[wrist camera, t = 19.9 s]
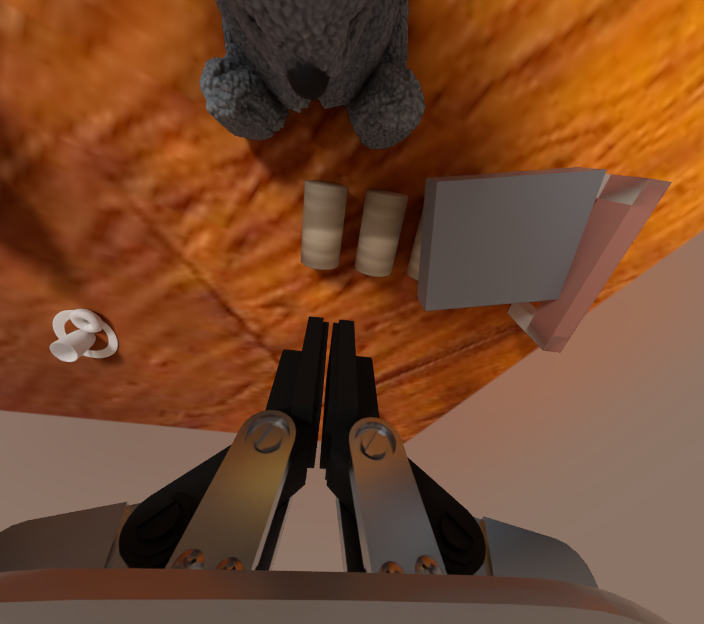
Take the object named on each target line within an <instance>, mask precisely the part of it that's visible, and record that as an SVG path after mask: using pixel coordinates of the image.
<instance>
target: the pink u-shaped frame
mask: <svg viewBox="0 0 704 624" xmlns="http://www.w3.org/2000/svg"><path fill="white" fill-rule="evenodd" d="M671 183H672V182H667V181H661V180H655V179H649V178H640V177H630V176H620V175H610V174H605V176H604V178H603V181H602V184H601V186H600V189H599V192H598V194H597V197H596V198H598V199H597V201H596V203H595V205H594V207H593V208H592V211H591V213H590V216H589V219H588V221H587V224H586V227H585V229H584V232H583V235H582V237H581V240H580V243H579V245H578V248H577V251H576V254H575V256H574V259H573V262H572V264H571V267H570V270H569V272H568V275H567V278H566V280H565V283H564V286H563V288H562V291H561V294H560V297H559V299H556V300H545V301H542V302H541V303H540V305H539V307H538V309H536V308H535V307H534V306H533V305H532V304H530V303H529V302H522V303H512V304H511V306H510V308H509V310H508V312H507V313H508V314H509V315H510V317H511V318H512V319H513V320H514V321H515V322H516V323H517V324H518V325H519V326H520V327H521V328H522V329H523V330H524V331H525V332H526V333H527V334H528V335H529V336H530V337H531V338H532V340H533V341H534V342H535V343H536V344H537V345H538V346H539V347H540V348H541V349H542V350H543V351H551V352H561V351H562V349H563V348H564V346H565V345H566V343H567V342H568V340H569V338H570V337H571V335H572V334H573V332H574V331H575V329H576V328H577V326H578V325H579V323H580V322H581V320H582V319H583V317H584V316H585V314H586V313H587V311H588V310H589V308H590V307H591V305H592V303H593V302H594V300H595V299H596V297H597V296H598V294H599V293H600V291H601V290H602V288H603V287H604V285H605V284H606V282H607V281H608V279H609V277H610V276H611V274H612V273H613V271H614V270H615V268H616V267H617V265H618V264H619V262H620V261H621V259H622V258H623V256H624V255H625V253H626V252H627V250H628V248H629V247H630V245H631V244H632V242H633V241H634V239H635V238H636V236H637V235H638V233H639V232H640V230H641V229H642V227H643V226H644V224H645V222H646V221H647V219H648V218H649V216H650V215H651V213H652V212H653V210H654V209H655V207H656V206H657V204H658V203H659V201H660V200H661V198H662V196H663V195H664V193H665V192H666V190H667V189H668V187H669V186H670V184H671Z"/></svg>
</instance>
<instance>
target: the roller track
mask: <svg viewBox="0 0 704 624" xmlns="http://www.w3.org/2000/svg"><path fill="white" fill-rule="evenodd" d="M347 194H348V187H347V186H345V185H342V184H337V183H332V182H326V181H317V180H306V181H305V188H304V208H303V228H302V248H301V262H302V264H304V265H305V266H308V267H310V268H314V269H322V270H327V269H334V268H336V267H338V266H339V259H340V251H341V243H342V235H343V226H344V218H345V210H346V202H347ZM408 198H409V197H408V196H407V195H404V194H400V193H396V192H391V191H385V190H377V189H367V190H366V197H365V203H364V210H363V216H362V223H361V229H360V236H359V242H358V249H357V255H356V262H355V268H356V270H358V271H359V272H361V273H363V274H366V275H370V276H376V277H384V276H388V275H390V274H391V273H392V268H393V264H394V260H395V255H396V251H397V246H398V242H399V237H400V233H401V229H402V224H403V220H404V215H405V211H406V207H407V202H408ZM423 209H424V206H423ZM422 223H423V210H422V213H421V217H420V221H419V225H418V229H417V233H416V237H415V241H414V245H413V249H412V253H411V257H410V260H409V264H408V268H407V274H408V275H409V276H410V277H411V278H413V279H415V280H418V277H419V263H420V250H421V236H422Z"/></svg>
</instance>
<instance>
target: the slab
mask: <svg viewBox="0 0 704 624" xmlns="http://www.w3.org/2000/svg"><path fill="white" fill-rule="evenodd" d="M605 173H606V170H604V169H593V168H582V167H574V168H559V169H545V170H531V171H517V172H502V173H488V174H474V175H460V176H445V177H431V178H426V182H425V196H424V209H423V223H422V236H421V250H420V263H419V277H418V291H417V298H418V300H419V302H420V303H421V305H422V307H423V308H424V310H425V311H432V310H443V309H455V308H466V307H477V306H488V305H500V304H511V303H522V302H534V301H545V300H556V299H559V297H560V294H561V291H562V288H563V286H564V283H565V280H566V278H567V275H568V272H569V270H570V267H571V264H572V262H573V259H574V256H575V254H576V251H577V248H578V245H579V243H580V240H581V237H582V235H583V232H584V229H585V227H586V224H587V221H588V219H589V216H590V213H591V211H592V208H593V205H594V203H595V200H596V197H597V194H598V192H599V189H600V186H601V184H602V181H603V178H604V176H605Z"/></svg>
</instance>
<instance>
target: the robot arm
mask: <svg viewBox="0 0 704 624" xmlns="http://www.w3.org/2000/svg"><path fill="white" fill-rule="evenodd" d="M323 319H324V318H320V317H310V316H309V319H308V324H307V329H306V334H305V339H304V344H303V349H302V351H296V350H285V349H284V350H283V352H282V355H281V359H280V362H279V365H278V369H277V372H276V376H275V379H274V383H273V386H272V390H271V393H270V396H269V400H268V403H267V407H266V410H265V411H262V412H259V413H257V414H255V415H253V416H251V417H250V418H249V419H248V420H246V421H245V423H244V424H243V425H242V427H241V428H240V430H239V432H238V434H237V436H236V438H235V439H234V441H233V443H232V445H230V446H228V447H227V448H225V449H224V450H222V451H220V452H219V453H217V454H216V455H214V456H213V457H211V458H210V459H208V460H207V461H205V462H203V463H202V464H200V465H199V466H197V467H195V468H194V469H192V470H191V471H189V472H187V473H186V474H184V475H183V476H181V477H179V478H178V479H176V480H175V481H173V482H172V483H170V484H168V485H167V486H165V487H164V488H162V489H161V490H159V491H157V492H156V493H154V494H153V495H151V496H150V497H148V498H147V499H146V500H145V501H143V502H142V503H139V504H133V505H129V504H128V502H123V503H118V504H113V505H108V506H102V507H97V508H92V509H86V510H81V511H76V512H70V513H65V514H60V515H55V516H49V517H43V518H38V519H33V520H28V521H24V522H21V523H18V524H16V525H12V526H10V527H9V528H7V529H5V530H3V531H2V532H0V624H671V623H669V622H668V621H666V620H664V619H663V618H661V617H660V616H658V615H656V614H655V613H653V612H651V611H649V610H647V609H645V608H643V607H642V606H640V605H638V604H636V603H634V602H632V601H630V600H627V599H625V598H623V597H620V596H618V595H616V594H613V593H611V592H608V591H605V590H601V589H598V586H597V584H596V582H595V579H594V577H593V575H592V573H591V571H590V570H589V568H588V566H587V564H586V563H585V562H584V560H583V559H582V558H581V557H580V556H579V554H578V553H577V552H576V551H574V550H573V549H572V548H571V547H570V546H568V545H567V544H566V543H564V542H562V541H560V540H557V539H555V538H552V537H549V536H546V535H542V534H539V533H536V532H533V531H529V530H526V529H523V528H520V527H516V526H513V525H510V524H507V523H503V522H500V521H497V520H494V519H491V518H487V517H483V518H482V519H478V518H475V517H473V516H472V515H471V514H470V513H469V512H468V510H467V509H465V508H464V507H463V506H462V505H461V504H460V503H459V502H458V501H456V500H455V499H454V498H453V497H452V496H451V495H450V494H449V493H447V492H446V491H445V490H444V489H443V488H442V487H441V486H439V485H438V484H437V483H436V482H435V481H434V480H433V479H432V478H430V477H429V476H428V475H427V474H426V473H425V472H424V471H423V470H421V469H420V468H419V467H418V466H417V465H416V464H415V463H413V462H412V461H411V460H410V459H409V458H408V457H407V455H406V452H405V449H404V446H403V443H402V440H401V438H400V436H399V434H398V432H397V430H396V429H395V428H394V427H393V426H392V425H391V424H389V423H388V422H386V421H385V420H382V419H379V411H378V403H377V395H376V387H375V378H374V370H373V362H372V358H371V357H361V356H356V350H355V330H354V321H349V320H339V323H333V330H332V338H331V346H330V354H329V362H328V370H327V378H326V390H325V403H324V416H323V429H322V442H321V455H320V469H321V468H322V469H326V477H325V480H327V486H328V487H329V489H330V490H331V491H332V492H333V493H334V494H335V496H336V506H337V516H338V525H339V534H340V543H341V552H342V561H343V570H344V572H311V571H310V572H309V571H272V567H273V564H274V560H275V557H276V553H277V549H278V547H279V543H280V540H281V536H282V533H283V529H284V525H285V522H286V519H287V515H288V512H289V508H290V505H291V501H292V496H293V495H294V494H295V493H296V492H297V491H298V490H299V489H300V488H302V487H303V486H304V485H305V480H306V474H307V468H314V465H315V457H316V448H317V440H318V432H319V424H320V415H321V407H322V396H323V385H324V373H325V362H326V350H327V339H328V327H329V322H323Z"/></svg>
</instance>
